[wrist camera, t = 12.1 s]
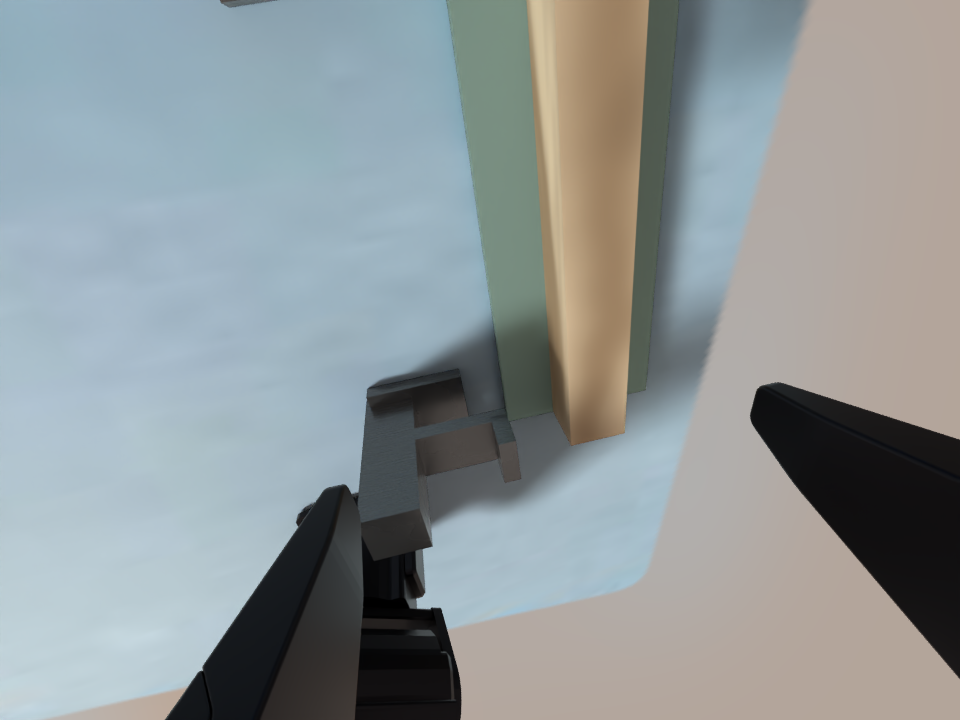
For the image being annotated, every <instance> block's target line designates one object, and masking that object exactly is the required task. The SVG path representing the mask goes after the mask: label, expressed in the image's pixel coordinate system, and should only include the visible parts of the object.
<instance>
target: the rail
mask: <svg viewBox="0 0 960 720" xmlns="http://www.w3.org/2000/svg"><path fill="white" fill-rule="evenodd" d="M526 1H527V16H528V32H529V47H530V63H531V78H532V93H533V109H534V124H535V140H536V155H537V171H538V186H539V201H540V217H541V232H542V248H543V263H544V279H545V294H546V309H547V325H548V340H549V356H550V371H551V387H552V402H553V412H554V414H555V416H556V418H557V420H558V422H559V423H560V425H561V427H562V429H563V431H564V433H565V435H566V437H567V439H568V441H569V443H570V445H571V446H572V445H577V444H581V443H585V442H589V441H593V440H598V439H602V438H606V437H610V436H615V435H619V434H623V433H625V417H626V399H627V382H628V364H629V346H630V328H631V311H632V293H633V275H634V257H635V240H636V222H637V204H638V186H639V169H640V151H641V133H642V116H643V98H644V80H645V62H646V45H647V27H648V9H649V0H526Z"/></svg>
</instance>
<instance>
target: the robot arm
mask: <svg viewBox="0 0 960 720" xmlns="http://www.w3.org/2000/svg"><path fill="white" fill-rule="evenodd" d="M750 419H751V422H752V424H753V426H754V428H755V429H756V431H757V432H758V434H759V435H760V436H761V438H762V439H763V441H764V442H765V444H766V445H767V446H768V448H769V449H770V451H771V452H772V453H773V455H774V456H775V458H776V459H777V461H778V462H779V464H780V465H781V466H782V468H783V469H784V471H785V472H786V474H787V475H788V476H789V478H790V479H791V480H792V482H793V483H794V484H795V486H796V487H797V488H798V489H799V491H800V492H801V493H802V494H803V495H804V497H805V498H806V499H807V500H808V501H809V502H810V504H811V505H812V506H813V507H814V508H815V510H816V511H817V512H818V513H819V514H820V515H821V517H822V518H823V519H824V520H825V521H826V522H827V524H828V525H829V526H830V527H831V528H832V529H833V530H834V532H835V533H836V534H837V535H838V536H839V538H840V539H841V540H842V541H843V542H844V543H845V545H846V546H847V547H848V548H849V549H850V551H851V552H852V553H853V554H854V555H855V556H856V558H857V559H858V560H859V561H860V562H861V563H862V565H863V566H864V567H865V568H866V569H867V571H868V572H869V573H870V574H871V575H872V576H873V578H874V579H875V580H876V581H877V582H878V583H879V585H880V586H881V587H882V588H883V589H884V591H885V592H886V593H887V594H888V595H889V596H890V598H891V599H892V600H893V601H894V602H895V604H896V605H897V606H898V607H899V608H900V609H901V611H902V612H903V613H904V614H905V615H906V616H907V618H908V619H909V620H910V621H911V622H912V623H913V625H914V626H915V627H916V628H917V629H918V631H919V632H920V633H921V634H922V635H923V636H924V638H925V639H926V640H927V641H928V642H929V643H930V645H931V646H932V647H933V648H934V649H935V651H936V652H937V653H938V654H939V655H940V656H941V657H942V659H943V660H944V661H945V662H946V663H947V665H948V666H949V667H950V668H951V669H952V670H953V671H954V673H955V674H956V675H957V676H958V678H959V679H960V440H959V439H956V438H953V437H950V436H946V435H944V434H940V433H937V432H934V431H931V430H928V429H925V428H922V427H918V426H915V425H912V424H909V423H906V422H903V421H900V420H896V419H893V418H890V417H887V416H884V415H880V414H878V413H875V412H871V411H868V410H865V409H862V408H859V407H856V406H852V405H849V404H846V403H843V402H840V401H837V400H834V399H831V398H828V397H824V396H821V395H818V394H815V393H812V392H809V391H806V390H803V389H799V388H796V387H793V386H790V385H787V384H784V383H779V382H777V383H771V384H767V385H763V386H760V387H759V388H758V389H757V391H756V394H755V398H754V402H753V406H752V409H751V413H750ZM296 523H297V525H298V528H297V530H296V531H295V533H294V534H293V536H292V537H291V539H290V540H289V541H288V543H287V544H286V546H285V547H284V549H283V550H282V552H281V553H280V554H279V556H278V557H277V559H276V560H275V562H274V563H273V565H272V566H271V568H270V569H269V570H268V572H267V573H266V575H265V576H264V578H263V579H262V581H261V582H260V584H259V585H258V586H257V588H256V589H255V591H254V592H253V594H252V595H251V597H250V598H249V599H248V601H247V602H246V604H245V605H244V607H243V608H242V610H241V611H240V613H239V614H238V615H237V617H236V618H235V620H234V621H233V623H232V624H231V626H230V627H229V628H228V630H227V631H226V633H225V634H224V636H223V637H222V639H221V640H220V642H219V643H218V644H217V646H216V647H215V649H214V650H213V652H212V653H211V655H210V656H209V658H208V659H207V660H206V662H205V663H204V665H203V667H202V669H203V671H199V672H198V673H197V675H196V676H195V678H194V679H193V680H192V682H191V683H190V685H189V686H188V688H187V689H186V691H185V692H184V694H183V695H182V696H181V698H180V699H179V701H178V702H177V704H176V705H175V706H174V708H173V709H172V710H171V712H170V713H169V715H168V716H167V718H166V719H165V720H460V718H461V685H460V677H459V672H458V668H457V664H456V661H455V658H454V654H453V650H452V646H451V642H450V639H449V635H448V631H447V628H446V624H445V621H444V617H443V613H442V610H441V608H431V609H417V601H416V598H420V597H423V595H424V593H425V579H424V564H423V549H420V550H416V551H412V552H408V553H404V554H400V555H396V556H392V557H388V558H384V559H380V560H376V561H374V560H373V558H372V556H371V554H370V552H369V550H368V548H367V545H366V543H365V541H364V539H363V537H362V535H361V519H360V513H359V510H358V499H353V497H352V494H351V492H350V490H349V488H348V487H347V486H346V485H344V484H342V485H338V486H333V487H329V488H326V489H325V490H324V491H323V492H322V494H321V495H320V496H319V498H318V499H317V501H316V502H315V504H314V505H313V507H312V508H311V510H308V511H304V512H301V513H299V514H298V516H297V521H296Z"/></svg>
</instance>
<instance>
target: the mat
mask: <svg viewBox="0 0 960 720" xmlns="http://www.w3.org/2000/svg"><path fill="white" fill-rule="evenodd" d="M447 7H448V14H449V21H450V27H451V34H452V41H453V48H454V55H455V62H456V69H457V76H458V83H459V90H460V97H461V104H462V111H463V117H464V124H465V131H466V138H467V145H468V152H469V159H470V166H471V173H472V180H473V187H474V194H475V201H476V207H477V214H478V221H479V228H480V235H481V242H482V249H483V256H484V263H485V270H486V277H487V284H488V291H489V297H490V304H491V311H492V318H493V325H494V332H495V339H496V346H497V353H498V360H499V367H500V374H501V381H502V387H503V394H504V401H505V408H506V415H507V417H508V420H509V422H510V421H514V420H518V419H523V418H527V417H531V416H536V415H540V414H544V413H549V412H553V402H552V387H551V371H550V356H549V340H548V325H547V309H546V294H545V279H544V263H543V248H542V232H541V217H540V201H539V186H538V171H537V155H536V140H535V124H534V109H533V93H532V78H531V63H530V47H529V32H528V16H527V1H526V0H447ZM678 8H679V0H649V9H648V27H647V45H646V62H645V80H644V98H643V116H642V133H641V151H640V169H639V186H638V204H637V222H636V240H635V257H634V275H633V293H632V311H631V328H630V346H629V364H628V382H627V394H631V393H635V392H640V391H644V390H646V382H647V370H648V359H649V347H650V335H651V324H652V312H653V300H654V289H655V277H656V265H657V254H658V242H659V230H660V219H661V207H662V195H663V183H664V172H665V160H666V148H667V137H668V125H669V113H670V102H671V90H672V78H673V67H674V55H675V43H676V32H677V20H678Z"/></svg>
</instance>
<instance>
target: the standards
mask: <svg viewBox="0 0 960 720" xmlns="http://www.w3.org/2000/svg"><path fill="white" fill-rule="evenodd" d="M220 1H221V3H222V4H224V5H226V6H227V7H236V6H242V5H249V4H255V3H262V2H269V1H275V0H220ZM367 400H368V401H367V403H366V415H365V426H364V438H363V450H362V461H361V473H360V484H359V496H358V510H359V513H360V519H361V535H362V537H363V539H364V541H365V543H366V545H367V548H368V550H369V552H370V554H371V556H372V558H373V560H374V561H376V560H380V559H384V558H388V557H392V556H396V555H400V554H404V553H408V552H412V551H416V550H420V549H424V548H428V547H432V546H433V545H432V533H431V522H430V511H429V500H428V489H427V478H426V476H428V475H432V474H437V473H441V472H445V471H449V470H454V469H458V468H462V467H466V466H470V465H475V464H479V463H483V462H487V461H492V460H496V459H498V461H499V465H500V468H501V471H502V475H503V478H504V482H505V483H506V482H511V481H515V480H519V479H521V474H520V467H519V460H518V452H517V445H516V440H515V437H514V434H513V431H512V429H511V426H510V423H509V420H508V417H507V415H506V412H505V409H504V408H502V409H498V410H494V411H489V412H485V413H481V414H476V415H472V416H468V411H467V406H466V401H465V397H464V392H463V387H462V382H461V377H460V373H459V369H455V370H451V371H446V372H442V373H437V374H433V375H428V376H423V377H419V378H414V379H410V380H405V381H401V382H396V383H392V384H387V385H383V386H378V387H373V388H369V389H367Z"/></svg>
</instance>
